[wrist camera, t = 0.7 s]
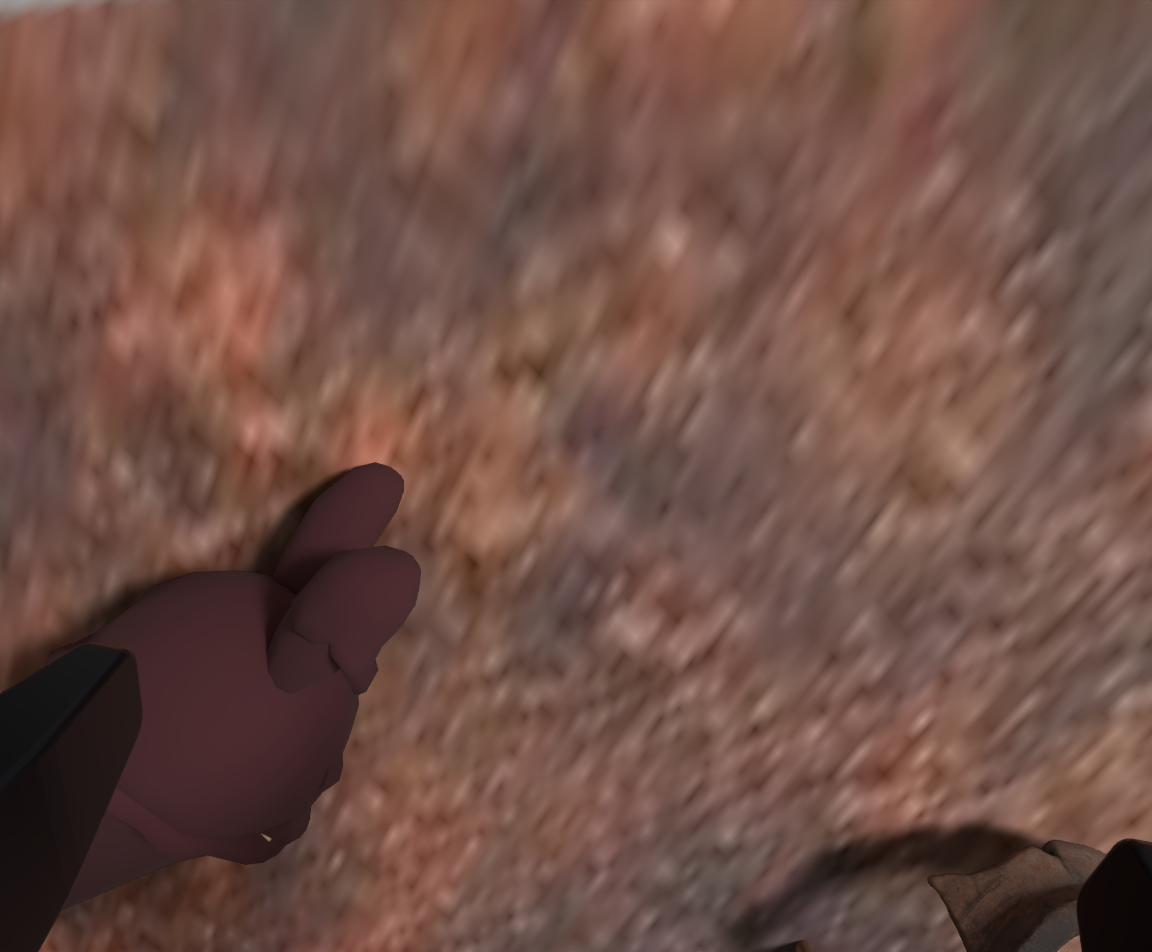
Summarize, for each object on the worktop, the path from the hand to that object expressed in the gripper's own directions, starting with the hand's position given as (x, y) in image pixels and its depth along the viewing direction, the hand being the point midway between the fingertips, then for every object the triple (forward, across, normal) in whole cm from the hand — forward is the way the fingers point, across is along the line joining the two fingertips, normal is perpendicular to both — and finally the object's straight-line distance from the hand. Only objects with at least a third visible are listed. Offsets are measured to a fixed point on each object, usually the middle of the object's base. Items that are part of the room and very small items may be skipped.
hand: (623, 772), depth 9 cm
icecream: (+12, +8, +13) cm, 20 cm away
